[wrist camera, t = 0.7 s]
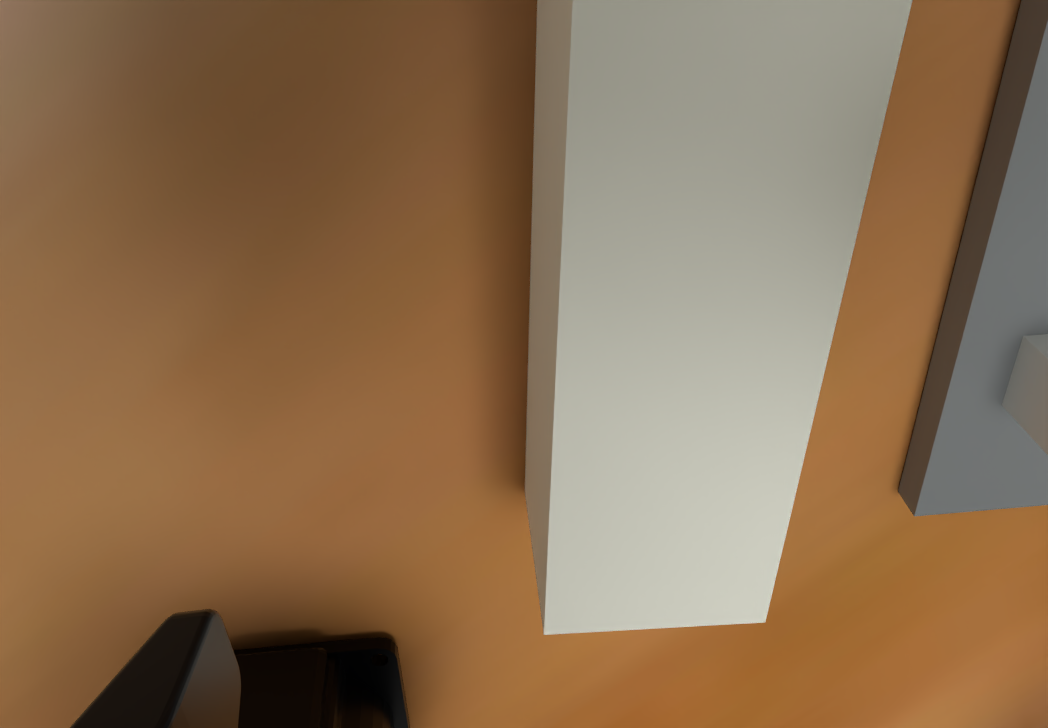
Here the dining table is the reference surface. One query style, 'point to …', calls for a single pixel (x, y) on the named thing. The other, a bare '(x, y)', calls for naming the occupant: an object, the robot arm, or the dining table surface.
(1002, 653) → the dining table surface
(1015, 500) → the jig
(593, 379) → the white block
